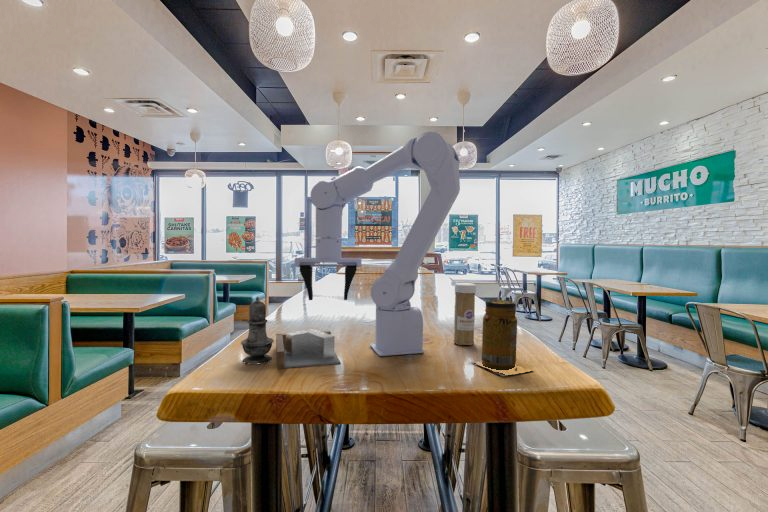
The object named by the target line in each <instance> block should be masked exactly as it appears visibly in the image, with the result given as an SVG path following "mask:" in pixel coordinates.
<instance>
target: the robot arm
mask: <svg viewBox="0 0 768 512" xmlns="http://www.w3.org/2000/svg"><path fill="white" fill-rule="evenodd" d="M460 161H461V160H460V158H459V156H458V154H457V151H456V150H455V148H454V147H453V145H451V144H450V143H449V142H447V141H446V140H445V139H444V136H442V135H441V134H440V133H438V132H435V131H426V132H423V133H421V135H419V136H418V137H413V138H410V139H409V140H408V141H407V142H406V143H405V144H404V145H402V146H400V147H398V148H397V149H396V150H394V151H392V152H391V153H389V154H387V155H386V156H384V157H383V158H381V159H379V160H378V161H376V162H374V163H373V164H371V165H369V166H368V167H366V168H365V167H362V166H360V165H359V166H358V165H357V166H354V165H352V166H350V167H348V168H347V169H348V171H346V172H344V173H343V174H341V175H339V176H337V177H335V176H333V177H331V178H330V181H325V180H324V181H323V180H321V181H318V182H317V183H316V184H315V185H314V186H313V187H312V188H311V191H310V201H311V203H312V205H313V206H314V207H315V257H294V268H299V273H300V275H301V277H302V280H303V281H304V284H305V287H306V291H307V296H308V301H313V298H314V296H313V294H314V292H313V267H315V268H317V267H318V268H321V267H322V268H323V267H325V268H336V267H337V268H339V267H341V268H345V269H344V291H343V301H348V297H349V291H350V288H351V284H352V282H353V279H354V278H355V275H356V273H357V268H362V258H361V257H358V258H357V257H342V254H343V253H342V248H343V247H342V243H343V241H342V240H343V239H342V238H343V237H342V236H343V235H342V234H343V233H342V231H343V230H342V228H343V210H344V208H345V207H346V205H347V203H349V202H351V201H353V200H356V199H357V198H359V197H361V196H363V195H365V194H367V193H369V192H370V191H372V189H373V186H374V183H376V182H378V181H380V180H382V179H385V178H388V177H390V176H392V175H394V174H397V173H398V172H401V171H403V170H405V169H413V170H414V169H415V170H423V171H424V173H425V175H426V178H427V181H428V183H429V186H430V190H429V192H428V195H427V197H426V199H424V202H423V204H422V206H421V208H420V210H419V212H418V214H417V216H416V217H415V220H414V222H413V223H412V224H411V227H410V229H409V231H408V233H407V234H406V235H407V236H406V238H405V239H404V241H403V243H402V245H401V247H400V248H399V251H398V253H397V255H396V256H395V258H394V259H393V261H392V262H391V263H390V264H389V265H388V266H387V267H386V268H385V269H384V271H383V273H382V275H381V276H379V278H377V279H376V280H375V281H374V282H373V283H372V285H371V288H370V297H371V299H372V301H373V302H374V304H375V341H374V342H371V343H369V346H370V347H371V349H372V350H373V351H374V352H375V353H376V354H377V355H378V356H380V357H386V356H398V355H399V356H401V355H411V354H412V355H413V354H423V353H424V352H425V351H424V349H423V347H424V346H423V344H424V343H423V341H424V340H423V339H424V319H423V318H424V317H423V313H422V311H421V309H420V308H419V307H418V306H411V305H412V304H411V301H410V300H411V299H412V297H413V296H414V294H415V290H416V289H415V287H416V286H415V285H416V282H417V280H418V278H419V269H420V266H421V265H422V263H423V261H424V259H425V257H426V256H427V253H429V250H430V248H431V246H432V245H433V242H434V241H435V238H436V237H437V235H438V234H439V231H440V229H441V227H442V226H443V223H444V222H445V220H446V218H447V216H448V215H449V212H450V210H451V208H452V207H453V205H454V203H455V201H456V199H457V198H458V195H459V193H460V191H461V186H460V185H461V184H460V182H461V181H460V164H461V163H460ZM321 263H322V264H321ZM325 263H328V264H325ZM329 263H332V264H329ZM333 263H336V264H333Z"/></svg>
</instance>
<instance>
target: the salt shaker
mask: <svg viewBox="0 0 768 512" xmlns="http://www.w3.org/2000/svg"><path fill="white" fill-rule="evenodd" d="M248 310H249V311H248V313H249V315H248V316H249V317H248V318H249V319H248V320H247V323H248V336H247V338H245V339H243V340H241V341H240V344H241V345H242V350H243V352H244V353H245V354H246V355H247V356H246V357H244V358H243V359H242V363H243V362H245V363H250V364H249V365H251V364H256V365H258V364H257V363H264V362H267V363H269V362H268V361H270V360H271V361H272V360H273V358H272V356H270V355H269V354H268V353H269V352H270V351H271V349H272V347H273V343H274V342H275V341H274V340H275V339H274V338H271V337H269V336H268V334H267V322H268V319H266V304H265V303H264V301H261V300H260V297H258V296H256V298H255V300H254V301H253V302H252V303H250V304H249V307H248ZM271 361H270V362H271ZM245 363H244V364H245ZM264 364H265V363H264Z"/></svg>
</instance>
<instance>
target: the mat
mask: <svg viewBox="0 0 768 512" xmlns="http://www.w3.org/2000/svg"><path fill="white" fill-rule="evenodd" d="M329 365H341V360H340V359H339V357H338V355H337V353H336V352H335V350H334V357H331V358H327V359H322V358H320V357H317V356H315V355H313V354H311V353H303V354H299V355H294V356H291V355H289V354H287V353H286V348H284V368H283V369H291V368H293V367H294V368H304V367H315V366H318V367H319V366H329Z"/></svg>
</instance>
